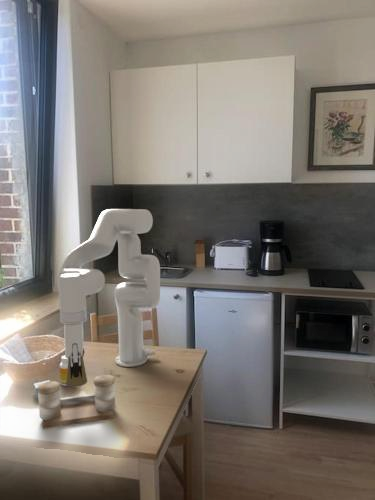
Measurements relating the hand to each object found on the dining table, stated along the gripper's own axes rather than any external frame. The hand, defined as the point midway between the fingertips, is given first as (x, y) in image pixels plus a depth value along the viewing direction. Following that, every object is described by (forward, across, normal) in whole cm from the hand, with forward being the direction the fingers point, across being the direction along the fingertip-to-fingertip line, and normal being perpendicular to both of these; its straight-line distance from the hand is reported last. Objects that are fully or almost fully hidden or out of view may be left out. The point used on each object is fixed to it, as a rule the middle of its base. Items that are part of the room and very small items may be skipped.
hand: (76, 375), depth 127 cm
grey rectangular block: (+13, -17, -11) cm, 24 cm away
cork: (+2, 0, 0) cm, 2 cm away
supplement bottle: (+13, -24, -3) cm, 27 cm away
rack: (+13, -1, 0) cm, 13 cm away
